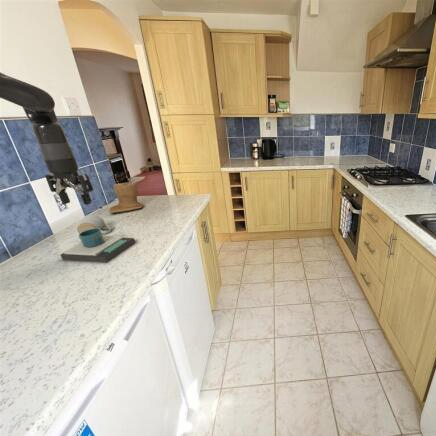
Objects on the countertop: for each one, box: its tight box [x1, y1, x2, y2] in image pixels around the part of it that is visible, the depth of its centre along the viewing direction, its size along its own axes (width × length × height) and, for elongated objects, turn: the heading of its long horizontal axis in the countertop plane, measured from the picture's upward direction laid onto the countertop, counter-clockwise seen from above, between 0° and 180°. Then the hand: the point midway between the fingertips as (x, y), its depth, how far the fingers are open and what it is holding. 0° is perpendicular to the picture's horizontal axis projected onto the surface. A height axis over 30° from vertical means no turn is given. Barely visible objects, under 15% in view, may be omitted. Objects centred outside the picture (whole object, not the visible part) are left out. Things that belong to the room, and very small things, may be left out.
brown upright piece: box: [108, 182, 144, 214], centre depth 131 cm, size 15×12×15 cm
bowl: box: [78, 229, 104, 248], centre depth 90 cm, size 6×6×5 cm
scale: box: [60, 235, 136, 263], centre depth 92 cm, size 18×14×3 cm
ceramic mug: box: [77, 214, 112, 235], centre depth 106 cm, size 11×8×8 cm
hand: (77, 203), depth 85 cm, fingers open, 8 cm apart
